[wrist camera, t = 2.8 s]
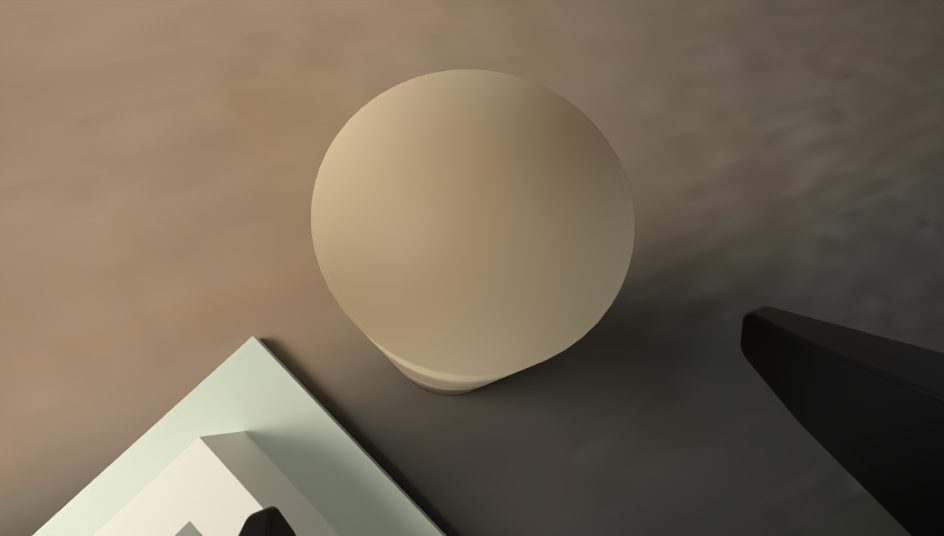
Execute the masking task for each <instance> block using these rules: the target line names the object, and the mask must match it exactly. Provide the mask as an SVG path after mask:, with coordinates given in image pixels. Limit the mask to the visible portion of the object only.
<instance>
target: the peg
mask: <svg viewBox="0 0 944 536" xmlns="http://www.w3.org/2000/svg"><path fill="white" fill-rule="evenodd" d="M311 231H312V237H313V244H314V250H315V253H316V257H317V260H318V263H319V267H320V270H321V272H322V274H323V276H324V279H325V281H326V283H327V285H328V287H329V289H330V291H331V292H332V294H333V296H334V297H335V299H336V300H337V302H338V303H339V305H340V306H341V308H342V309H343V310H344V311H345V312H346V314H347V315H348V316H349V317H350V318H351V319H352V321H353V322H354V323H355V324H356V325H357V326H358V327H359V328H360V329H361V330H362V331H363V332H364V333H365V334H366V335H367V336H368V338H369V339H370V340H371V341H372V342H373V343H374V344H375V345H376V346H377V347H378V348H379V349H380V350H381V351H382V352H383V353H384V354H385V355H386V356H387V357H388V358H389V359H390V360H391V361H392V362H393V363H394V364H395V365H396V366H397V367H398V368H399V370H400V371H401V372H402V373H403V374H404V375H405V376H406V377H407V378H408V379H409V380H411V381H412V382H413V383H414V384H415V385H417V386H418V387H420V388H422V389H424V390H426V391H428V392H431V393H435V394H440V395H459V394H463V393H467V392H469V391H472V390H475V389H477V388H479V387H482V386H484V385H487V384H489V383H492V382H494V381H496V380H499V379H501V378H504V377H506V376H509V375H511V374H513V373H516V372H518V371H521V370H523V369H526V368H528V367H530V366H533V365H535V364H538V363H540V362H542V361H545V360H547V359H549V358H551V357H553V356H555V355H556V354H558V353H560V352H562V351H564V350H566V349H567V348H568V347H570V346H571V345H572V344H574V343H575V342H577V341H578V340H579V339H581V338H582V337H583V336H584V335H585V334H586V333H587V332H588V331H589V330H590V329H592V328H593V327H594V326H595V325H596V324H597V323H598V322H599V320H600V319H601V318H602V316H603V315H604V314H605V313H606V311H607V310H608V309H609V307H610V306H611V304H612V303H613V301H614V299H615V297H616V296H617V294H618V292H619V290H620V289H621V286H622V284H623V281H624V279H625V276H626V274H627V271H628V268H629V264H630V260H631V256H632V252H633V244H634V234H635V222H634V207H633V202H632V196H631V191H630V188H629V185H628V181H627V178H626V175H625V172H624V170H623V168H622V166H621V164H620V162H619V159H618V157H617V155H616V154H615V152H614V150H613V149H612V147H611V146H610V144H609V142H608V141H607V139H606V138H605V137H604V135H603V134H602V133H601V132H600V131H599V129H598V128H597V127H596V126H595V124H594V123H593V122H592V121H591V120H590V119H588V118H587V117H586V116H585V115H584V114H583V113H582V112H581V111H580V110H579V109H578V108H576V107H575V106H574V105H572V104H571V103H570V102H568V101H567V100H566V99H564V98H563V97H561V96H559V95H558V94H556V93H554V92H553V91H551V90H549V89H547V88H545V87H543V86H541V85H539V84H536V83H534V82H532V81H529V80H526V79H523V78H520V77H517V76H514V75H510V74H505V73H500V72H495V71H486V70H474V69H468V70H450V71H443V72H436V73H431V74H428V75H424V76H420V77H416V78H414V79H411V80H409V81H406V82H404V83H401V84H399V85H396V86H394V87H393V88H391V89H389V90H387V91H385V92H384V93H382V94H380V95H379V96H377V97H376V98H374V99H373V100H372V101H370V102H369V103H367V104H366V105H365V106H364V107H362V108H361V109H360V110H359V111H358V112H357V113H356V114H355V115H354V116H353V117H352V118H351V119H350V120H349V121H348V122H347V123H346V125H345V126H344V127H343V128H342V130H341V131H340V132H339V133H338V134H337V136H336V138H335V139H334V141H333V143H332V144H331V146H330V147H329V149H328V151H327V153H326V155H325V157H324V160H323V162H322V164H321V166H320V169H319V172H318V175H317V179H316V182H315V186H314V191H313V198H312V205H311Z"/></svg>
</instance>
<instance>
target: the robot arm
mask: <svg viewBox="0 0 944 536" xmlns="http://www.w3.org/2000/svg"><path fill="white" fill-rule="evenodd" d="M741 350H742V352H743V354H744V356H745V358H746V359H747V360H748V361H749V363H750V364H751V365H752V366H753V367H754V369H755V370H756V371H757V372H758V373H759V375H760V376H761V377H762V378H763V380H764V381H765V382H766V383H767V384H768V386H769V387H770V388H771V389H772V391H773V392H774V393H775V394H776V395H777V397H778V398H779V399H780V400H781V402H782V403H783V404H784V405H785V406H786V408H787V409H788V410H789V411H790V412H791V413H792V415H793V416H794V417H795V418H796V419H797V420H798V421H799V423H800V424H801V425H802V426H803V427H804V428H805V429H806V430H807V431H808V432H809V433H810V434H811V435H812V436H813V437H814V438H815V439H816V440H817V441H818V442H819V443H820V444H821V445H822V446H823V447H824V448H825V449H826V450H827V451H828V452H829V453H830V454H831V455H832V456H833V457H834V458H835V459H836V460H837V461H838V462H839V463H840V464H841V465H842V466H843V467H844V468H845V469H846V470H847V471H848V472H849V473H850V474H851V475H852V476H853V477H854V478H855V479H856V480H857V481H858V482H859V483H860V484H861V485H862V486H863V487H864V488H865V489H866V490H867V491H868V492H869V493H870V494H871V495H872V496H873V497H874V498H875V499H876V500H877V501H878V502H879V503H880V504H881V505H882V506H883V507H884V508H885V509H886V510H887V511H888V512H889V513H890V514H891V515H892V516H893V517H894V518H895V519H896V520H897V522H898V523H899V524H900V525H901V526H902V527H903V528H904V529H905V530H906V531H907V532H908V533H909V534H910V535H911V536H944V353H941V352H937V351H934V350H930V349H926V348H922V347H918V346H915V345H911V344H907V343H903V342H900V341H896V340H892V339H888V338H885V337H881V336H877V335H873V334H870V333H866V332H862V331H858V330H855V329H851V328H847V327H843V326H840V325H836V324H832V323H828V322H825V321H821V320H817V319H813V318H810V317H806V316H802V315H798V314H795V313H791V312H787V311H783V310H780V309H776V308H772V307H766V306H765V307H760V308H758V309H755V310H753V311H750V312H748V313H746V314H745V316H744V317H743V324H742V334H741ZM238 536H296V534H295V532H294V530H293V529H292V528H291V526H290V525H289V523H288V522H287V521H286V519H285V518H284V516H283V515H282V513H281V512H280V511H279V509H278V508H277V507H275V506H269V507H267V508H265V509H262V510H260V511H257V512H255V513H253V514H251V515H250V516H249V517H248V518H247V519H246V521H245V523H244V525H243V527H242V529H241V531H240V533H239V535H238Z"/></svg>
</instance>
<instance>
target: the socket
mask: <svg viewBox="0 0 944 536" xmlns="http://www.w3.org/2000/svg"><path fill="white" fill-rule="evenodd" d="M269 506H275V507H277V508H278V509H279V511H280V512H281V513H282V515H283V516H284V518H285V519H286V521H287V522H288V523H289V525H290V526H291V528H292V529H293V530H294V532H295V534H296V536H446V535H445V533H444V532H443V531H442V530H441V529H440V528H439V527H438V526H437V525H436V524H435V523H434V522H433V521H432V520H431V519H430V518H429V517H428V516H427V515H426V514H425V512H424V511H423V510H422V509H421V508H420V507H419V506H418V505H417V504H416V503H415V502H414V501H413V500H412V499H411V498H410V497H409V496H408V495H407V494H406V493H405V491H404V490H403V489H402V488H401V487H400V486H399V485H398V484H397V483H396V482H395V481H394V480H393V479H392V478H391V477H390V476H389V475H388V474H387V473H386V472H385V470H384V469H383V468H382V467H381V466H380V465H379V464H378V463H377V462H376V461H375V460H374V459H373V458H372V457H371V456H370V455H369V454H368V453H367V452H366V451H365V449H364V448H363V447H362V446H361V445H360V444H359V443H358V442H357V441H356V440H355V439H354V438H353V437H352V436H351V435H350V434H349V433H348V432H347V431H346V430H345V428H344V427H343V426H342V425H341V424H340V423H339V422H338V421H337V420H336V419H335V418H334V417H333V416H332V415H331V414H330V413H329V412H328V411H327V410H326V409H325V407H324V406H323V405H322V404H321V403H320V402H319V401H318V400H317V399H316V398H315V397H314V396H313V395H312V394H311V393H310V392H309V391H308V390H307V389H306V388H305V386H304V385H303V384H302V383H301V382H300V381H299V380H298V379H297V378H296V377H295V376H294V375H293V374H292V373H291V372H290V371H289V370H288V369H287V368H286V367H285V365H284V364H283V363H282V362H281V361H280V360H279V359H278V358H277V357H276V356H275V355H274V354H273V353H272V352H271V351H270V350H269V349H268V348H267V347H266V346H265V344H264V343H263V342H262V341H261V340H260V339H259V338H257V337H254V336H252V337H251V338H250V339H249V340H248V341H247V342H246V343H245V344H243V345H242V346H241V347H240V348H239V349H238V350H237V351H236V352H235V353H233V354H232V355H231V356H230V357H229V358H228V359H227V360H226V361H225V362H224V363H222V364H221V365H220V366H219V367H218V368H217V369H216V370H215V371H214V372H213V373H211V374H210V375H209V376H208V377H207V378H206V379H205V380H204V381H203V382H201V383H200V384H199V385H198V386H197V387H196V388H195V389H194V390H193V391H192V392H190V393H189V394H188V395H187V396H186V397H185V398H184V399H183V400H182V401H181V402H179V403H178V404H177V405H176V406H175V407H174V408H173V409H172V410H171V411H169V412H168V413H167V414H166V415H165V416H164V417H163V418H162V419H161V420H160V421H158V422H157V423H156V424H155V425H154V426H153V427H152V428H151V429H150V430H148V431H147V432H146V433H145V434H144V435H143V436H142V437H141V438H140V439H139V440H137V441H136V442H135V443H134V444H133V445H132V446H131V447H130V448H129V449H128V450H126V451H125V452H124V453H123V454H122V455H121V456H120V457H119V458H118V459H116V460H115V461H114V462H113V463H112V464H111V465H110V466H109V467H108V468H107V469H105V470H104V471H103V472H102V473H101V474H100V475H99V476H98V477H97V478H96V479H94V480H93V481H92V482H91V483H90V484H89V485H88V486H87V487H86V488H84V489H83V490H82V491H81V492H80V493H79V494H78V495H77V496H76V497H75V498H73V499H72V500H71V501H70V502H69V503H68V504H67V505H66V506H65V507H64V508H62V509H61V510H60V511H59V512H58V513H57V514H56V515H55V516H54V517H52V518H51V519H50V520H49V521H48V522H47V523H46V524H45V525H44V526H43V527H41V528H40V529H39V530H38V531H37V532H36V533H35V534H34V535H33V536H238V535H239V533H240V531H241V529H242V527H243V525H244V523H245V521H246V519H247V518H248V517H249V516H250V515H251V514H253V513H255V512H257V511H260V510H262V509H265V508H267V507H269Z"/></svg>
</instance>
